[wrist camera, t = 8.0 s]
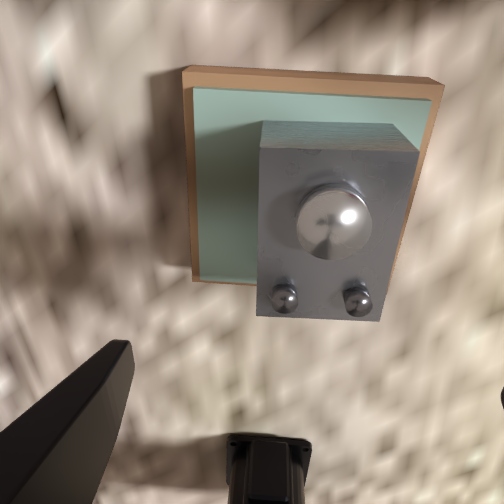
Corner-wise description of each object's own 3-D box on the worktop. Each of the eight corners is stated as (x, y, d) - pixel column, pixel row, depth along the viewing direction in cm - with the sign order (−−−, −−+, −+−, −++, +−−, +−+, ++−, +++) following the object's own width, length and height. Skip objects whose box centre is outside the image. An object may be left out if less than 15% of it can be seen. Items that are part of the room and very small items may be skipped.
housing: (363, 272, 19) (385, 339, 15) (259, 268, 19) (255, 333, 15) (392, 123, 15) (430, 162, 11) (263, 120, 15) (258, 157, 12)
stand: (378, 272, 22) (388, 300, 20) (198, 260, 22) (190, 287, 20) (428, 77, 17) (450, 87, 14) (191, 64, 17) (179, 73, 15)
